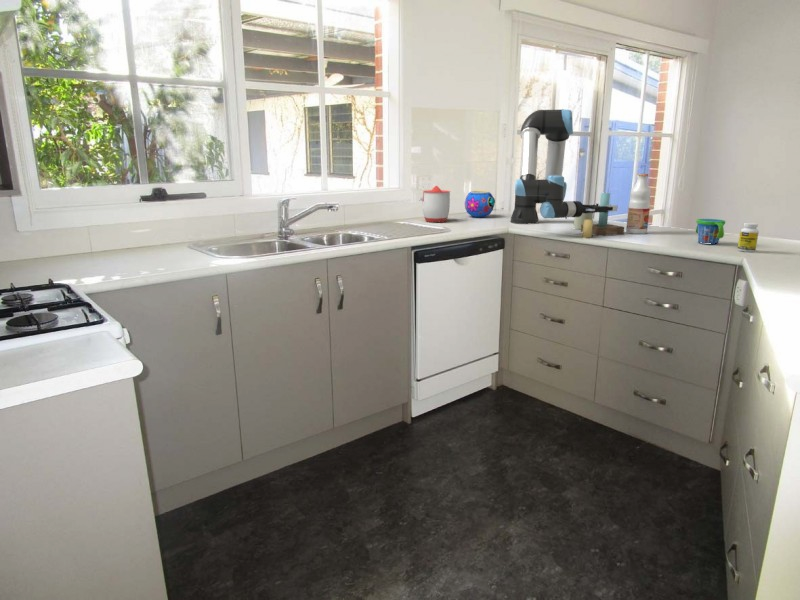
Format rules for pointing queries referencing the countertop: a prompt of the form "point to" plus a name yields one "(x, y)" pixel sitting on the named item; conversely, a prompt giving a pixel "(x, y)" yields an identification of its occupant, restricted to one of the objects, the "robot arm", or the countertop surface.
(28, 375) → the countertop surface
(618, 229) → the walnut block
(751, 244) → the pill bottle
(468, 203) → the ceramic pot
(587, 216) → the can
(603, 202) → the tall dowel
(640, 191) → the fruit juice
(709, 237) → the snack cup
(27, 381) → the countertop surface
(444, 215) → the citrus juicer
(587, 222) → the short dowel
